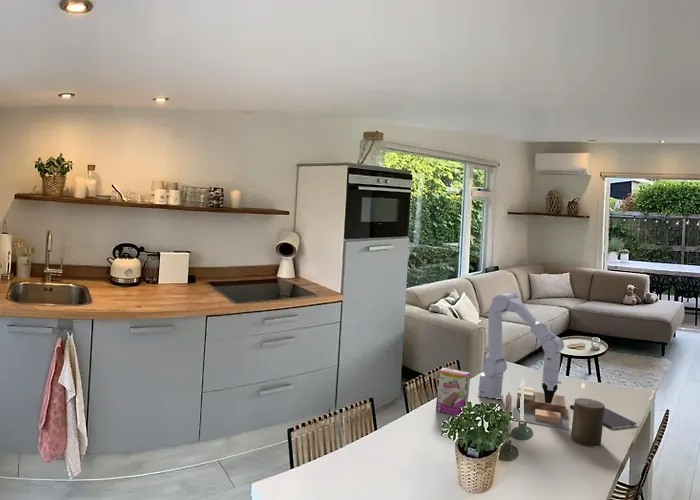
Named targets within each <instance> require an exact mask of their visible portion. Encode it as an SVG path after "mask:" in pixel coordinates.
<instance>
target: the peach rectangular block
mask: <svg viewBox="0 0 700 500" xmlns="http://www.w3.org/2000/svg"><path fill="white" fill-rule="evenodd" d="M535 420H541V421H546V422H552V423H558V424H560V423H561V415H560V413H558V412H552V411H546V410H540V409H535Z"/></svg>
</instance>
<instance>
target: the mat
mask: <svg viewBox="0 0 700 500" xmlns="http://www.w3.org/2000/svg"><path fill="white" fill-rule="evenodd" d="M512 416H513V417H514V418H516V420H515V421H516V422H520V421H519V420H520V410H519V408H516V406H515V407H513V410H512ZM524 420H525V422H524V423H527V424H531V425H539V426H544V427H550V428H555V429H561V430H567V431H570V423H569V417H568V416H567V415H565V416H562V415H561V423H560V424H558V423H552V422H546V421H541V420H535V411H533V410H527V409H524Z"/></svg>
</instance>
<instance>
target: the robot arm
mask: <svg viewBox="0 0 700 500" xmlns="http://www.w3.org/2000/svg"><path fill="white" fill-rule="evenodd" d="M491 301H492V302H491V304H490V306H489V308H488V310H487V311H488V314H487V315H488V316H487V317H488V319H487V320H488V321H487V322H488V334H487V337H488V347H487V349H488V351H487V354H486V355H485V356H484V361H483V365H482V372H483V373H480V375H479V383H478V395H477V396H478V397H479V396H481V397H480V398H485V397H489V398H488V399H491V398H498V399H499V398H500V399H501V400H500V401H502V400H503V396H502V395H504V393H503V391H502V390H503V380H504V373H505V372H506V371H507V368H508V365H507V361H506V356H505V354H504V353H503V315H504V314H505V313H507V312H509V313H515V314H517V315H518V317H520V318H521V319H522V321H524V322H525V324H527V325H528V326H529V327H530V332H531V334H532V335H533V336H534V337H535V338H536V339H537V341H539V342H540V344H541V346H542V349H543V352H544V357H543V369H542V377H541V382H542V383H541V387H542V389H543V393H544V395H545V403H549V404H551V402H552V399H553V396H554V395H556V392H557V390H558V385H559V384H561V385H562V380H560V379H559V376H560V375H559V374H560V365H561V351H562V350H563V349H564V347H565V343H564V340H562V338H561V337H559V336H556V334H555V333H553V332H552V331H551V330H550V329H549V328H548V327H547V326H548V325H547V324H546V323H544V322H542V321H537V319H536V318H535V317H534V315H533V314H532V313H531V312H530V310H528V307H526V306H525V305H524V303H523V301H522V299H521V298H520V297H519V296H518V295H517V294H516V293H515V292H514V293H513V292H509V293H502V294H498V295H495V297H493V298H492V300H491Z"/></svg>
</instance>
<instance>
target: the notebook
mask: <svg viewBox="0 0 700 500" xmlns="http://www.w3.org/2000/svg"><path fill="white" fill-rule="evenodd" d="M569 408H570V409H571V410H573V411H574V404H570V405H569ZM603 426H604V427H606V428H607V429H609V428H610V430H611V429H612V430H616V428H618V429H623V428H622V427H626V428H629V427H628V426H633V427H636V426H637V422H635V421H633V420H632V419H629V418H627V417H625V416H623V415H621V414H619V413H617V412H615V411H613V410H611V409H609V408H606V407H605V408H604V418H603ZM614 428H615V429H614Z"/></svg>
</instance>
